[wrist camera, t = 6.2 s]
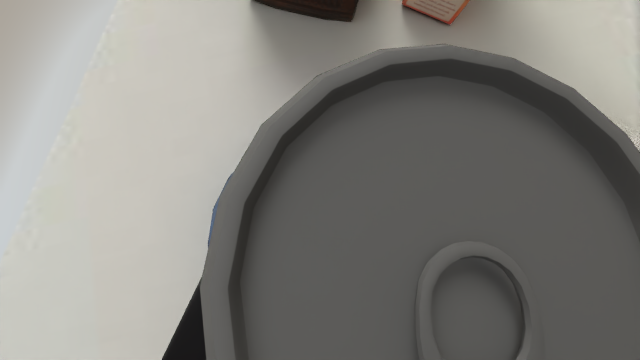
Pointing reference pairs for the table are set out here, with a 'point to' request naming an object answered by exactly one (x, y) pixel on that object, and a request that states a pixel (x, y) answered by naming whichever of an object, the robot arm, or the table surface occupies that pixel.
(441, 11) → the cracker box
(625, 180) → the beer can
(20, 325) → the table surface
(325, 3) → the manual coffee grinder
